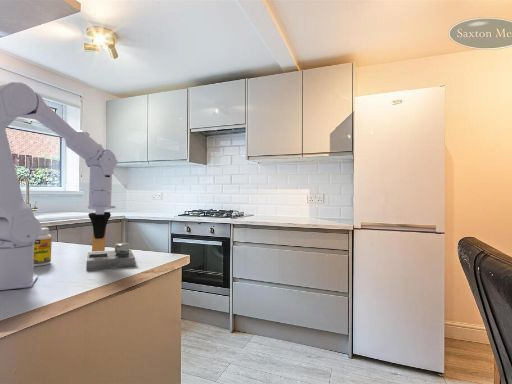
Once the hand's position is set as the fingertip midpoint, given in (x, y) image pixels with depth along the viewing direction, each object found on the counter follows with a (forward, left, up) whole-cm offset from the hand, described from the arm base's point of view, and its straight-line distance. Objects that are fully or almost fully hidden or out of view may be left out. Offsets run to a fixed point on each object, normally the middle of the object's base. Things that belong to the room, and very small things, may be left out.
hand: (99, 237), depth 84 cm
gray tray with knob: (+3, 0, -8) cm, 8 cm away
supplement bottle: (-15, +6, -8) cm, 18 cm away
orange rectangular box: (0, 0, -4) cm, 4 cm away
